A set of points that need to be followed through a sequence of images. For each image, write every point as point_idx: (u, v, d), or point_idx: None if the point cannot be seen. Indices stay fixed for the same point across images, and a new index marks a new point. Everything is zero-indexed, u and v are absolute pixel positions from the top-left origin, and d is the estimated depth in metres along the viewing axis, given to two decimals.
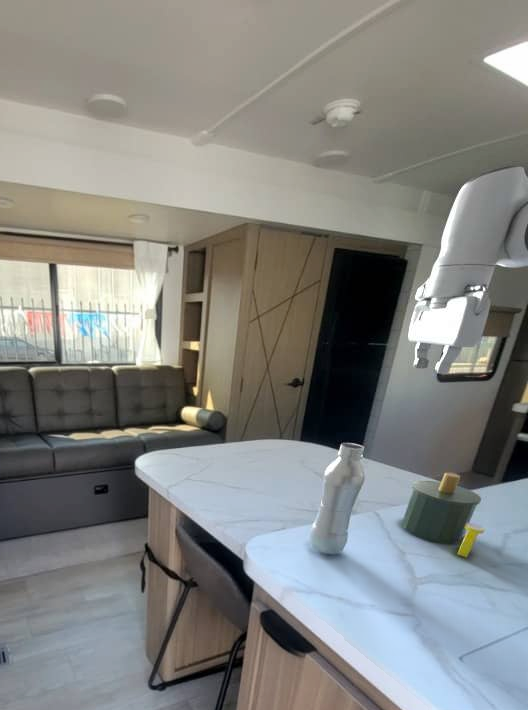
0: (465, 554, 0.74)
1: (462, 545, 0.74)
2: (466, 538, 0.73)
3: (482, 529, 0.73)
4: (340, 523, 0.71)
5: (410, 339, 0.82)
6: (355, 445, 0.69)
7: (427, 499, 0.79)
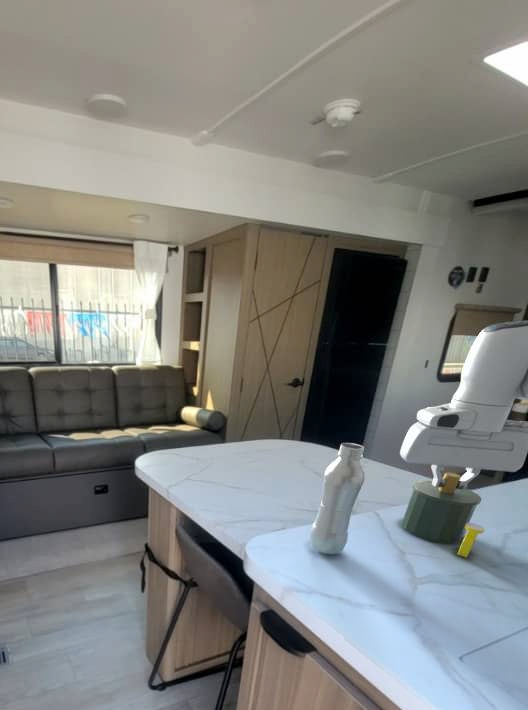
0: (465, 554, 0.74)
1: (462, 545, 0.74)
2: (466, 538, 0.73)
3: (482, 529, 0.73)
4: (340, 523, 0.71)
5: (415, 461, 0.78)
6: (355, 445, 0.69)
7: (427, 499, 0.79)
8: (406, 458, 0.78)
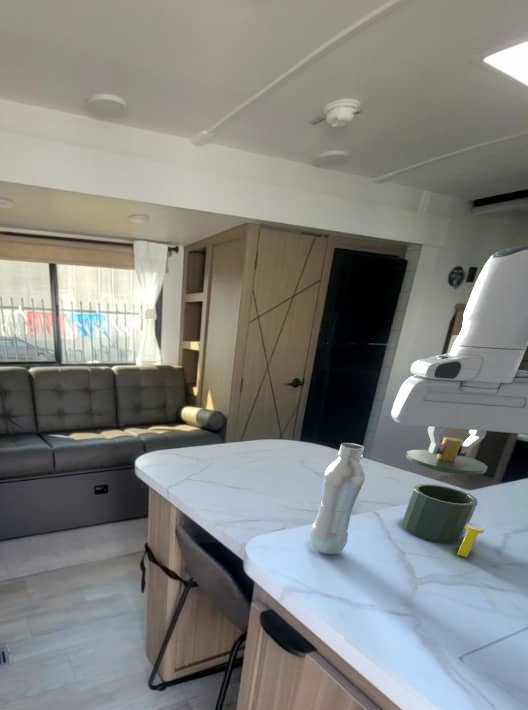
0: (465, 554, 0.74)
1: (462, 545, 0.74)
2: (466, 538, 0.73)
3: (482, 529, 0.73)
4: (340, 523, 0.71)
5: (408, 422, 0.66)
6: (355, 445, 0.69)
7: (427, 499, 0.79)
8: (398, 419, 0.66)
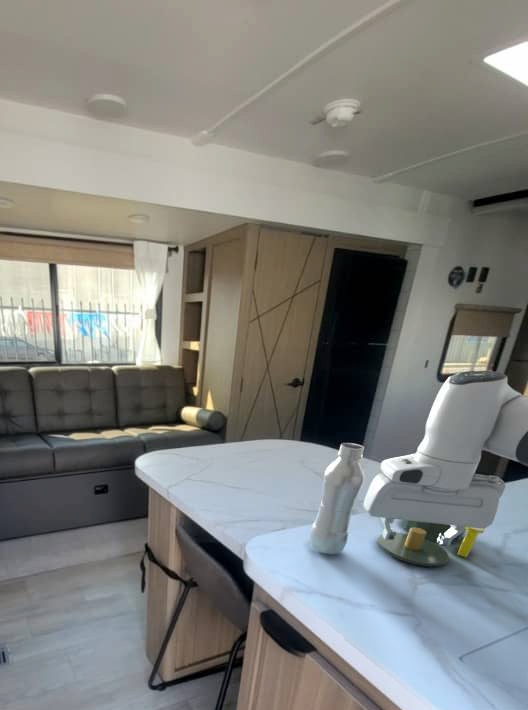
0: (465, 554, 0.74)
1: (462, 545, 0.74)
2: (466, 538, 0.73)
3: (482, 529, 0.73)
4: (340, 523, 0.71)
5: (378, 515, 0.73)
6: (355, 445, 0.69)
7: None
8: (369, 512, 0.73)
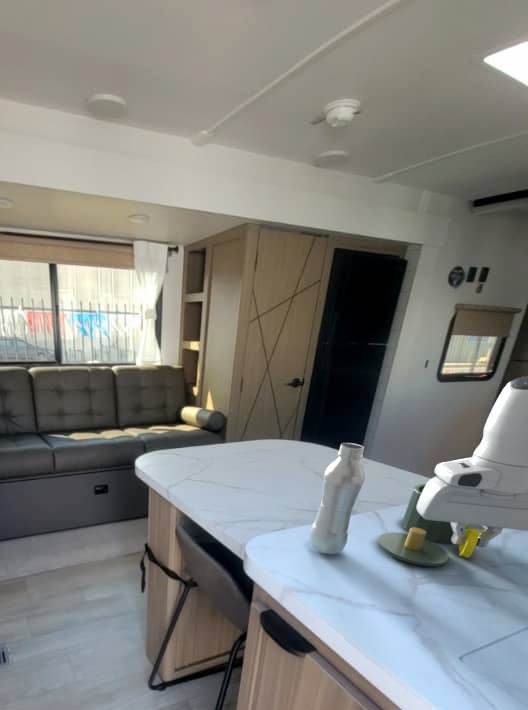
0: (468, 555, 0.74)
1: (466, 546, 0.73)
2: (470, 539, 0.73)
3: (482, 529, 0.73)
4: (340, 523, 0.71)
5: (433, 518, 0.73)
6: (355, 445, 0.69)
7: None
8: (423, 515, 0.73)
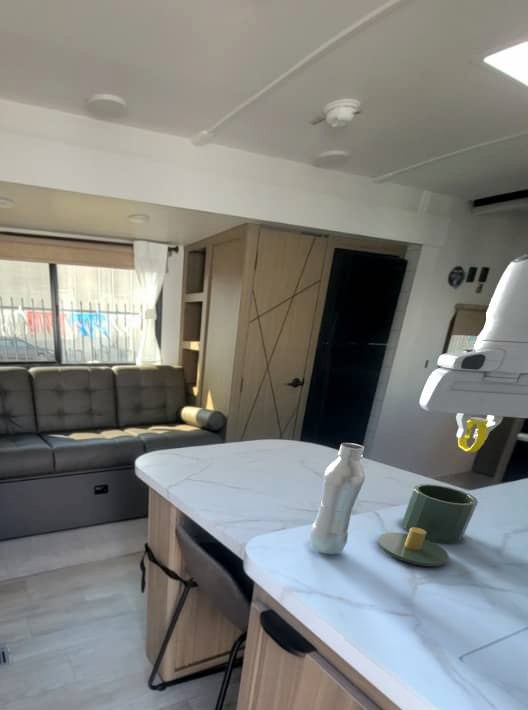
0: (478, 448, 0.74)
1: (477, 439, 0.73)
2: (480, 431, 0.72)
3: (486, 420, 0.73)
4: (340, 523, 0.71)
5: (436, 409, 0.73)
6: (355, 445, 0.69)
7: (427, 499, 0.79)
8: (426, 406, 0.73)
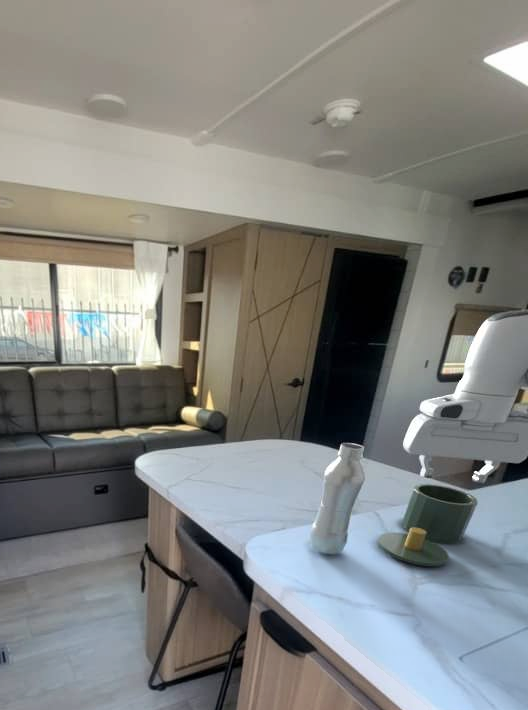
0: None
1: None
2: None
3: None
4: (340, 523, 0.71)
5: (418, 452, 0.77)
6: (355, 445, 0.69)
7: (427, 499, 0.79)
8: (409, 450, 0.78)
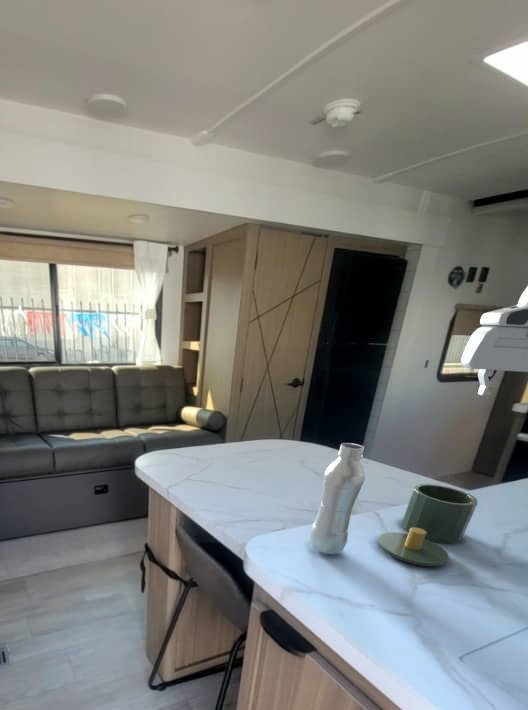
0: None
1: None
2: None
3: None
4: (340, 523, 0.71)
5: (479, 366, 0.75)
6: (355, 445, 0.69)
7: (427, 499, 0.79)
8: (469, 364, 0.75)
